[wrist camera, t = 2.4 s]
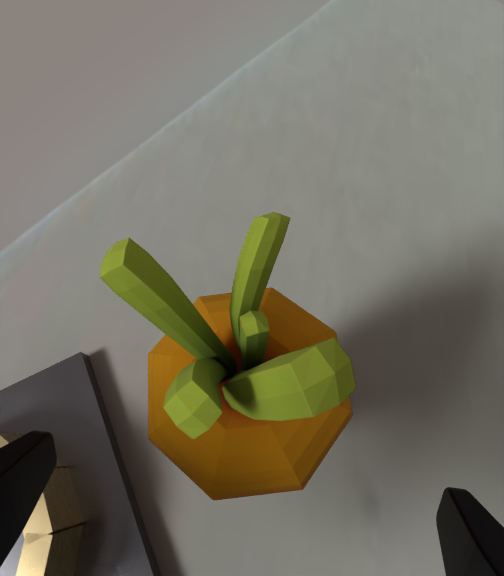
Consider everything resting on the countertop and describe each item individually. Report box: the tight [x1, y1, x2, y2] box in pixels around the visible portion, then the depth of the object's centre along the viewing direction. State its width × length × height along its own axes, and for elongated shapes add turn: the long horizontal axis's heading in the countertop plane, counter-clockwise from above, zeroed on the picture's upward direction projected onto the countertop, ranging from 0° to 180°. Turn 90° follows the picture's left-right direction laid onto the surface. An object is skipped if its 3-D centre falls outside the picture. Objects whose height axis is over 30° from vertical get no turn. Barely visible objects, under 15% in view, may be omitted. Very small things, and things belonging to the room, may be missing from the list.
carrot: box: [100, 212, 356, 500], centre depth 12 cm, size 5×5×15 cm
